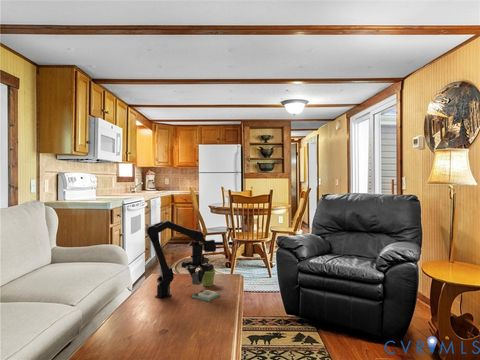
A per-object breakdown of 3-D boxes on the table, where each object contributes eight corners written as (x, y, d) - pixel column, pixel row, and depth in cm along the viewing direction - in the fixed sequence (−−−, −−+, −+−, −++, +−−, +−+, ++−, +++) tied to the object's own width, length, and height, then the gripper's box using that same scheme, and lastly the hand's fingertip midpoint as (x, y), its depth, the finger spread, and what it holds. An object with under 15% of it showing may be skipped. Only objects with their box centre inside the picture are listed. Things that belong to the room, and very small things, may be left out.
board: (208, 301, 180) (208, 297, 180) (191, 297, 185) (191, 293, 185) (219, 295, 188) (219, 291, 188) (203, 292, 194) (203, 288, 194)
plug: (198, 285, 192) (198, 273, 192) (192, 284, 194) (192, 272, 194) (202, 283, 196) (202, 271, 195) (196, 282, 198) (196, 270, 198)
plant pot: (198, 283, 210) (198, 269, 210) (213, 282, 213) (213, 267, 213) (201, 288, 201) (201, 273, 201) (217, 286, 204) (217, 271, 204)
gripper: (219, 252, 197) (219, 280, 197) (193, 248, 206) (193, 275, 207) (207, 256, 187) (207, 285, 187) (180, 252, 197) (180, 280, 197)
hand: (197, 281), depth 195 cm, fingers closed on plug, 4 cm apart
